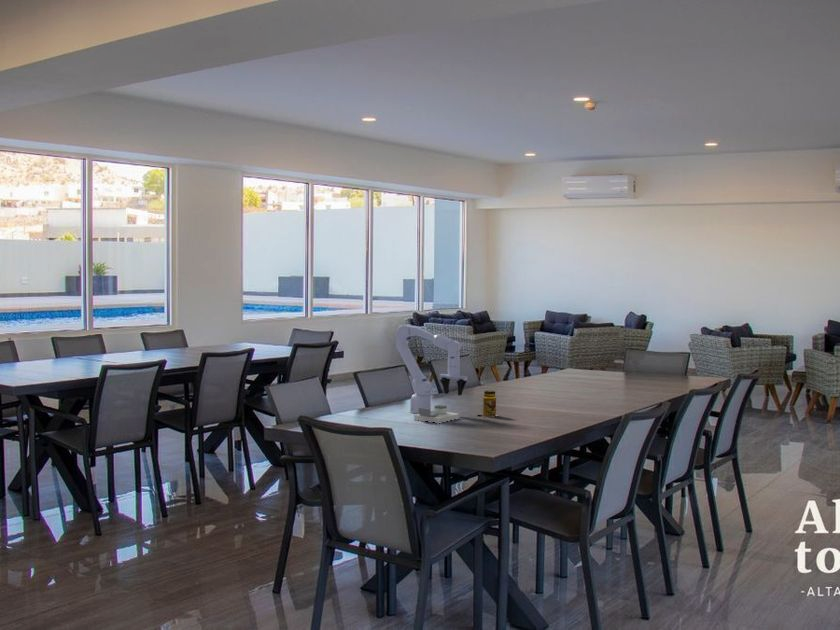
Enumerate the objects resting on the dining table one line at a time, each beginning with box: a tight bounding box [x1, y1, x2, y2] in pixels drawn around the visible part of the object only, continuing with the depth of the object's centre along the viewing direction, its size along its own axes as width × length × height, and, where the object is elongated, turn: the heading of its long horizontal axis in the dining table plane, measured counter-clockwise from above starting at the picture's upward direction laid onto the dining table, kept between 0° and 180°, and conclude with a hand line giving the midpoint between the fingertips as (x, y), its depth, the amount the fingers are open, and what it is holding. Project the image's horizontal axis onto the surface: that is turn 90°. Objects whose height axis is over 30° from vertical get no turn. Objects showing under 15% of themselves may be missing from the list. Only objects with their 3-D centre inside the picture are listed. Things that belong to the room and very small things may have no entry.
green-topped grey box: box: [434, 404, 448, 415], centre depth 392 cm, size 4×4×6 cm
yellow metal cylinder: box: [482, 390, 499, 418], centre depth 401 cm, size 7×8×12 cm
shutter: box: [419, 408, 439, 417], centre depth 384 cm, size 6×7×4 cm
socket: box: [413, 410, 460, 424], centre depth 389 cm, size 14×16×2 cm
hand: (453, 394), depth 402 cm, fingers open, 7 cm apart
